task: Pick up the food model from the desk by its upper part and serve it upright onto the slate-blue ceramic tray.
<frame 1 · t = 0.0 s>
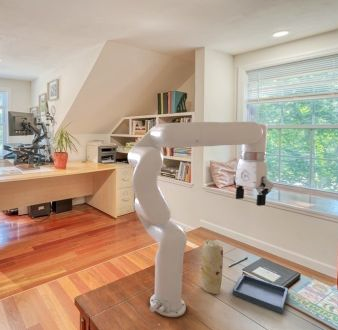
hand: (249, 201, 96), 37 cm above the table, tool pointing down, fingers open, 9 cm apart
food model: (210, 289, 103), on the table
serving tray: (260, 294, 100), on the table
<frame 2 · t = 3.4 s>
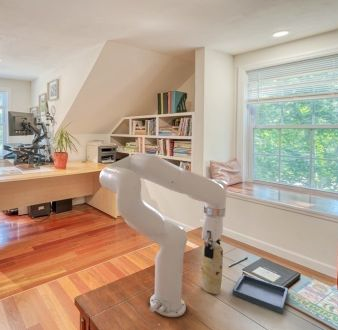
hand: (212, 253, 101), 15 cm above the table, tool pointing down, fingers closed on food model, 7 cm apart
food model: (210, 289, 103), on the table, touching gripper
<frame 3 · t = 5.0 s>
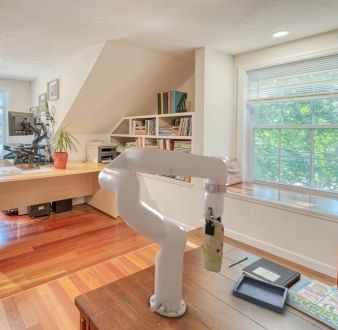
hand: (212, 231, 100), 24 cm above the table, tool pointing down, fingers closed on food model, 7 cm apart
food model: (210, 268, 102), point 9 cm above the table, touching gripper
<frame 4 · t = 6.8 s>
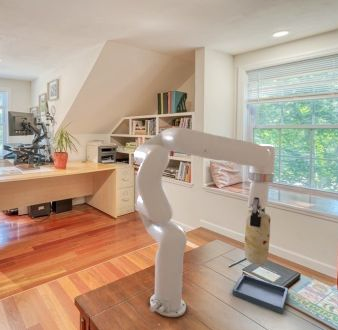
hand: (257, 223, 97), 29 cm above the table, tool pointing down, fingers closed on food model, 7 cm apart
food model: (254, 261, 99), point 13 cm above the table, touching gripper
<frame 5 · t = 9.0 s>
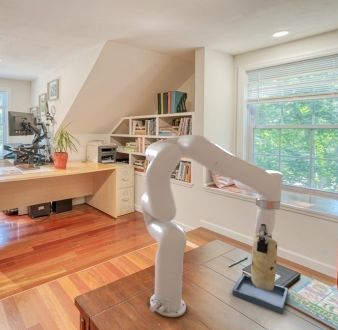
hand: (264, 248, 97), 19 cm above the table, tool pointing down, fingers closed on food model, 7 cm apart
food model: (260, 285, 99), point 4 cm above the table, touching gripper
when the fingers open (16 cm above the table, at t = 10.4 s): food model stays where it is, resting on serving tray.
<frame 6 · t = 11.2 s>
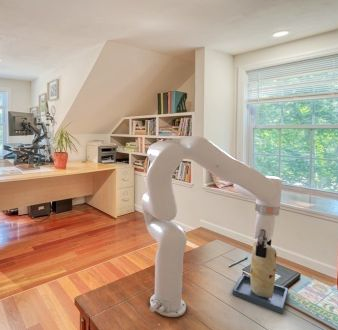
hand: (263, 252, 98), 17 cm above the table, tool pointing down, fingers open, 9 cm apart
food model: (259, 293, 100), resting on serving tray
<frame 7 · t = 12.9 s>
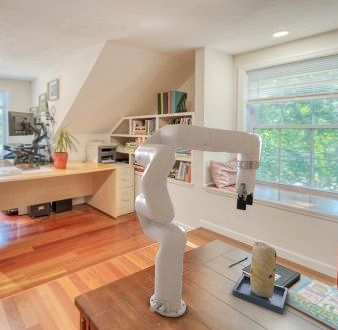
hand: (244, 207, 103), 33 cm above the table, tool pointing down, fingers open, 9 cm apart
nothing on the table moved.
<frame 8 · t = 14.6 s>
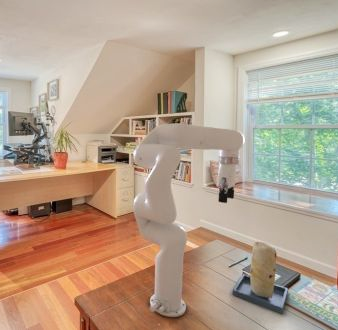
hand: (226, 200, 110), 34 cm above the table, tool pointing down, fingers open, 9 cm apart
nothing on the table moved.
at the end: food model inside the target area in the serving tray (0.1 cm from its centre), point 0.4 cm above the serving tray's base; food model tilted 0°; the gripper is holding nothing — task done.
